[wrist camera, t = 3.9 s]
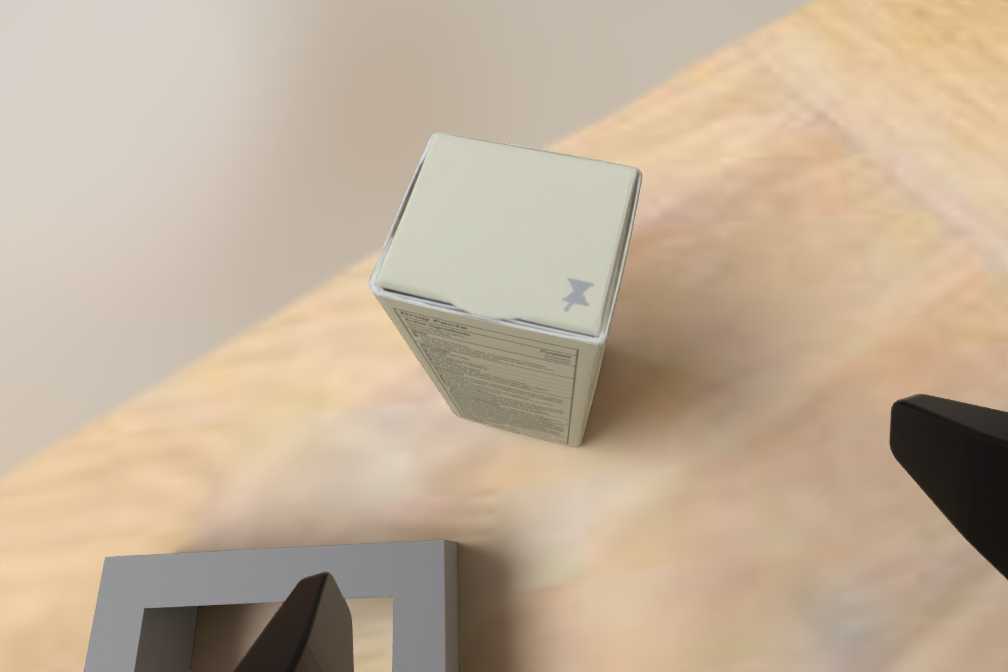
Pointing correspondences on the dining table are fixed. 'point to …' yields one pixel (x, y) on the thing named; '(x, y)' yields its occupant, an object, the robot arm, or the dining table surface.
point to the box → (509, 278)
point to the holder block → (272, 599)
